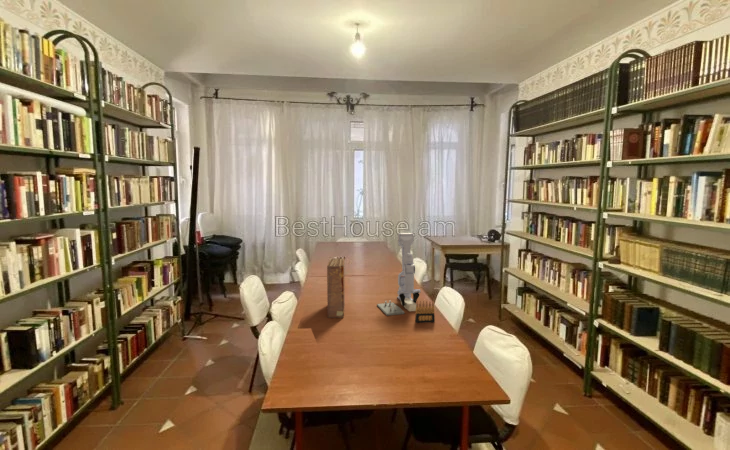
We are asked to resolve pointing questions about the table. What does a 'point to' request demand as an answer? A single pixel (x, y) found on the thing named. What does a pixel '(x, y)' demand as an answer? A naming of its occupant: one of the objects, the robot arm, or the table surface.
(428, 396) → the table surface
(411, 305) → the cream rectangular block
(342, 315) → the book
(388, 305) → the flat gray board
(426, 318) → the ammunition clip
